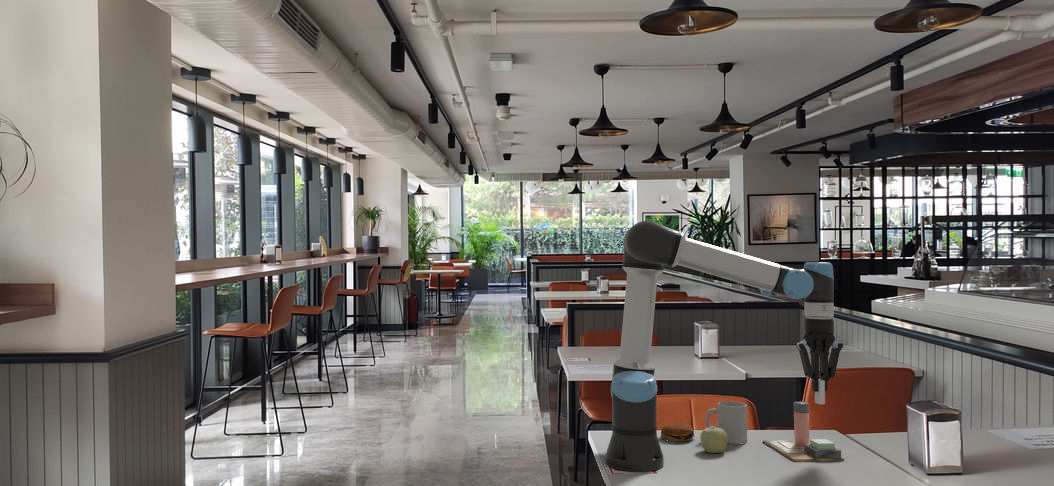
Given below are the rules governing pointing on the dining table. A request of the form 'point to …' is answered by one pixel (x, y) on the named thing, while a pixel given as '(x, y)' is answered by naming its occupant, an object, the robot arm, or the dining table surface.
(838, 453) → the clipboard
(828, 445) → the button
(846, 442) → the dining table surface
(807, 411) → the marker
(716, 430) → the fruit
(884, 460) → the dining table surface
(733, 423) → the mug
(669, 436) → the burger
